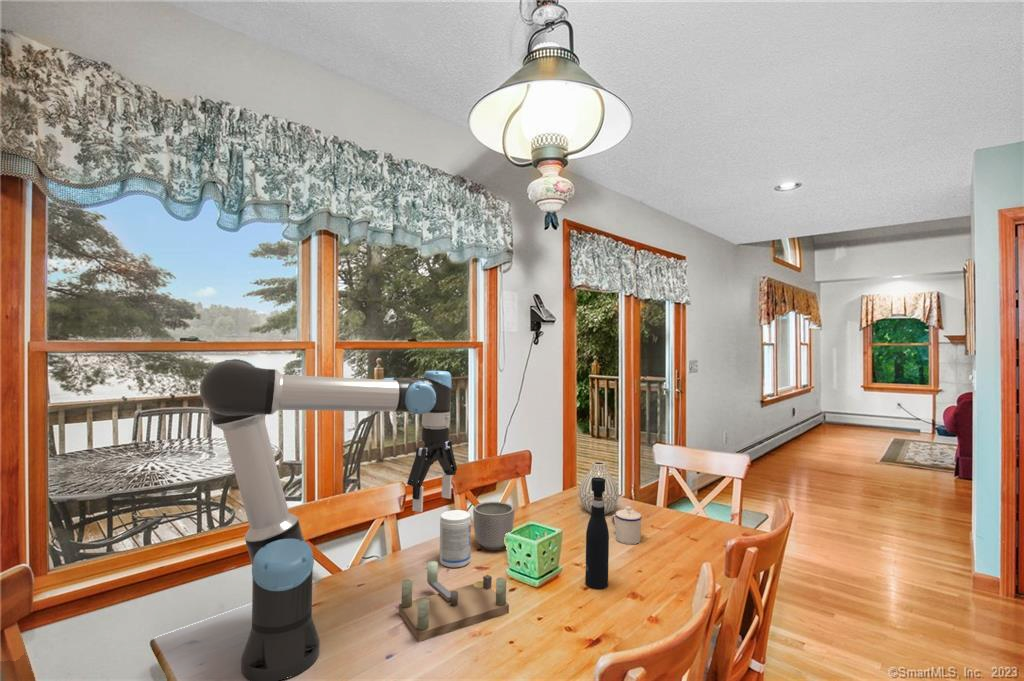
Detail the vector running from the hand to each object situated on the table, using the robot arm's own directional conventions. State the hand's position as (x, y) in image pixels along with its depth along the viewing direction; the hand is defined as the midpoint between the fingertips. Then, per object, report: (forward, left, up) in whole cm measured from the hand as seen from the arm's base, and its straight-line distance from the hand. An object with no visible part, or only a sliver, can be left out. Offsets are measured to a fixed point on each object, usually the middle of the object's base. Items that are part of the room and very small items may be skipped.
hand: (432, 504), depth 134 cm
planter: (+29, +17, -24) cm, 42 cm away
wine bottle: (+42, -20, -24) cm, 53 cm away
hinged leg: (0, -6, -21) cm, 22 cm away
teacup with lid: (+73, 0, -24) cm, 77 cm away
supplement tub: (+13, +13, -24) cm, 30 cm away
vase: (+84, +26, -24) cm, 92 cm away
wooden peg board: (+1, -13, -24) cm, 27 cm away
